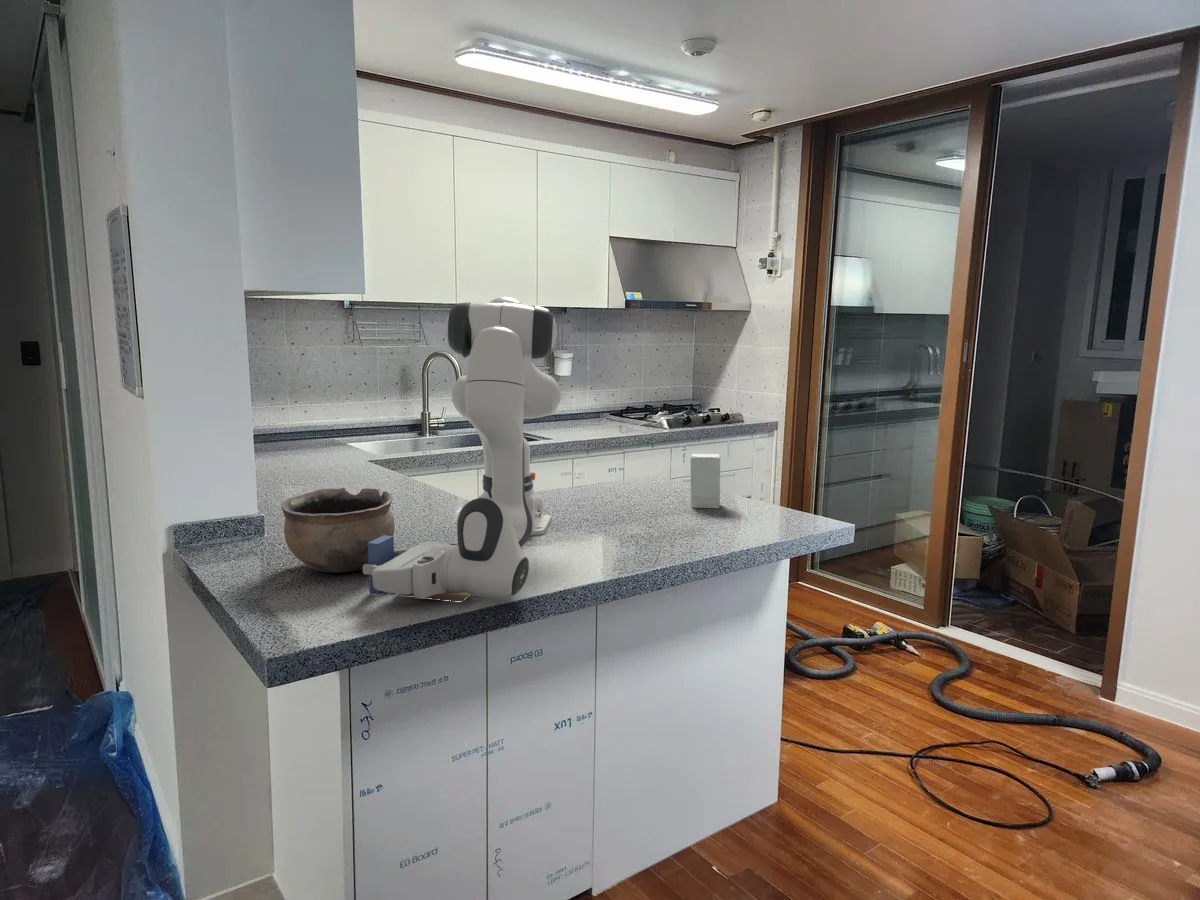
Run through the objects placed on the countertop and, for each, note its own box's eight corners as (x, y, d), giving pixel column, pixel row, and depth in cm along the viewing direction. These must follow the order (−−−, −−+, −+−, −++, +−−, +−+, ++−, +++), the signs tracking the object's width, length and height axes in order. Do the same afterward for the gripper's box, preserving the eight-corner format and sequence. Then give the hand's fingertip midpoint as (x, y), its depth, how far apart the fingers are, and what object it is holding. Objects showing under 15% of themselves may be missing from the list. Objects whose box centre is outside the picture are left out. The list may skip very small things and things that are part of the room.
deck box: (385, 584, 151) (383, 535, 149) (395, 585, 150) (393, 536, 148) (369, 593, 145) (367, 542, 144) (380, 595, 145) (378, 543, 143)
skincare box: (719, 504, 219) (721, 453, 217) (719, 509, 213) (721, 457, 211) (690, 503, 221) (692, 452, 218) (689, 508, 215) (690, 455, 212)
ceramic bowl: (414, 557, 168) (412, 490, 166) (363, 590, 147) (359, 514, 145) (324, 549, 173) (321, 484, 171) (261, 580, 152) (257, 506, 150)
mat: (438, 569, 160) (437, 567, 160) (495, 575, 156) (495, 573, 156) (398, 595, 145) (398, 593, 144) (461, 602, 141) (461, 600, 141)
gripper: (467, 536, 153) (404, 531, 156) (415, 568, 133) (346, 560, 137) (467, 567, 154) (405, 560, 157) (417, 602, 134) (347, 594, 138)
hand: (377, 561), depth 147 cm, fingers open, 7 cm apart
